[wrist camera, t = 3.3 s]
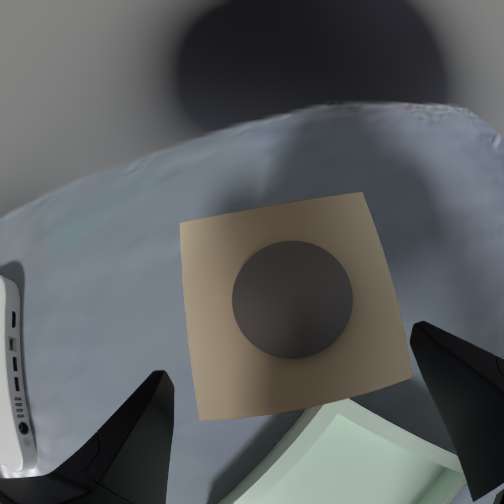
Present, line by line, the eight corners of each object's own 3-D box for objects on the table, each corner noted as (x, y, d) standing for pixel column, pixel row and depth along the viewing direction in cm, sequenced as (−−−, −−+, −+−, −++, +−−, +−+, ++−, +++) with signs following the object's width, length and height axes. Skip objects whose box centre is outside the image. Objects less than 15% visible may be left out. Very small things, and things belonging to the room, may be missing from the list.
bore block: (310, 301, 18) (364, 186, 6) (323, 365, 17) (417, 378, 4) (245, 312, 18) (176, 218, 6) (255, 377, 17) (196, 423, 5)
